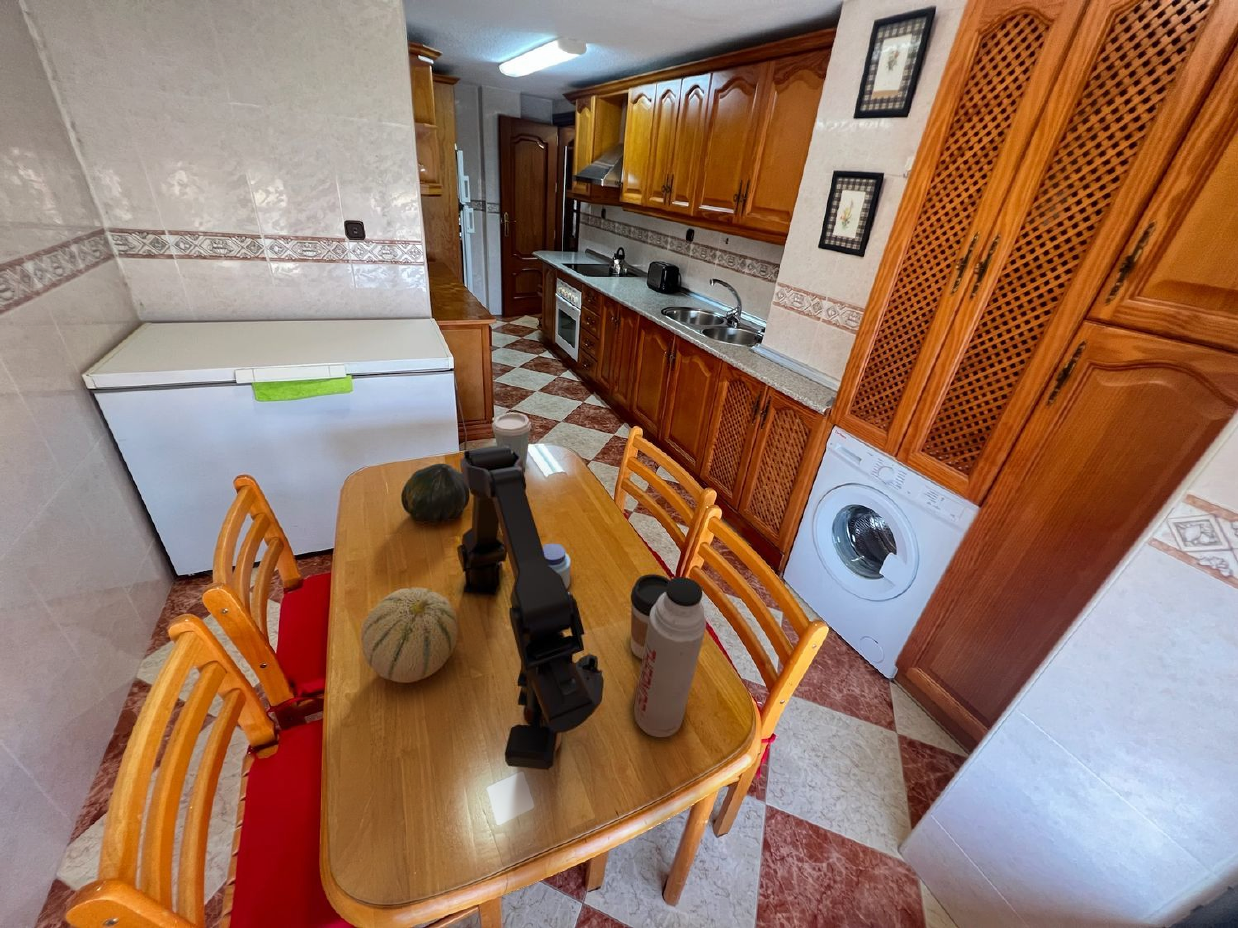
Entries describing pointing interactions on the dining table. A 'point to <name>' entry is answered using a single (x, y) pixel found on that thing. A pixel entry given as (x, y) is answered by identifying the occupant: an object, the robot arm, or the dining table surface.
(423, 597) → the cantaloupe
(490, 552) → the robot arm
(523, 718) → the cup
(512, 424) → the disposable coffee cup
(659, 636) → the thermos bottle
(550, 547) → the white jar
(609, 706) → the dining table surface
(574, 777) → the dining table surface
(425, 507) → the squash
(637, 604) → the coffee cup
